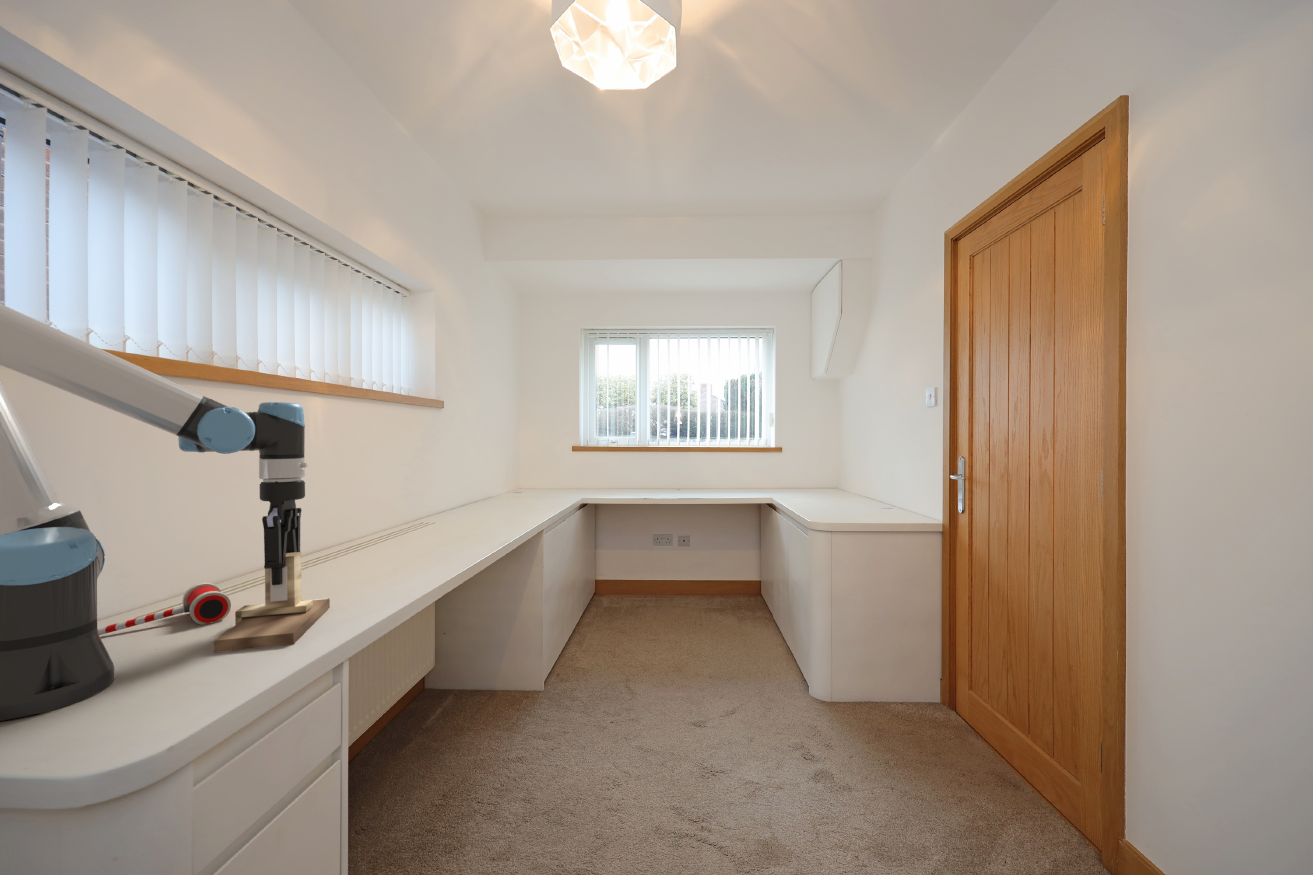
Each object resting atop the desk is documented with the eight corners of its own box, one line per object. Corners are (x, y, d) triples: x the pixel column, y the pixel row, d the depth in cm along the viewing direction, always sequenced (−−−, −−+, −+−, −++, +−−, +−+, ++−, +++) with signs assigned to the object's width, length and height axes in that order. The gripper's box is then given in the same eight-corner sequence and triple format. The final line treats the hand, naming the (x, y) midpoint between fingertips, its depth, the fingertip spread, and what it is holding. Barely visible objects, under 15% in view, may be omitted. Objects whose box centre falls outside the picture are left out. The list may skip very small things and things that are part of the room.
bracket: (235, 627, 106) (234, 559, 106) (244, 620, 110) (243, 555, 110) (306, 621, 109) (305, 555, 109) (312, 614, 113) (312, 551, 113)
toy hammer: (68, 654, 96) (67, 617, 96) (67, 637, 104) (67, 603, 104) (231, 620, 112) (231, 589, 112) (220, 608, 120) (220, 579, 120)
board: (214, 652, 95) (213, 639, 95) (265, 612, 116) (265, 603, 116) (293, 644, 98) (293, 632, 98) (329, 607, 119) (329, 597, 119)
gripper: (288, 482, 103) (289, 608, 103) (317, 476, 119) (318, 584, 119) (241, 484, 101) (242, 611, 101) (277, 477, 117) (279, 587, 117)
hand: (283, 596), depth 110 cm, fingers closed on bracket, 4 cm apart
